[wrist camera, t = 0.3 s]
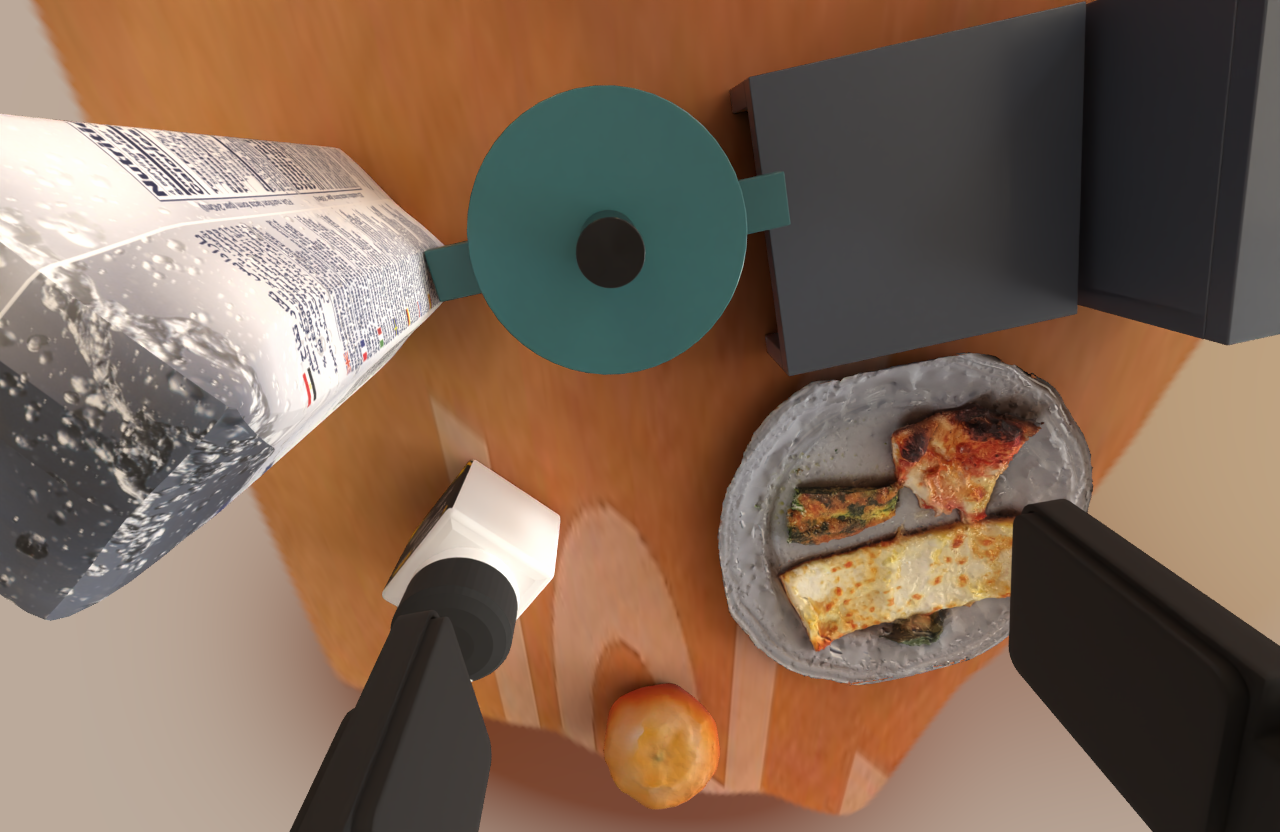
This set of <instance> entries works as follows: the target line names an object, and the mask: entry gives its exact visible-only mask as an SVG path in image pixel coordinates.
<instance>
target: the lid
mask: <svg viewBox="0 0 1280 832" xmlns="http://www.w3.org/2000/svg"><path fill="white" fill-rule="evenodd" d="M467 238H468V248H469V255H470V259H471V264H472V268H473V272H474V274H475V277H476V280H477V283H478V285H479V288H480V290H481V292H482V294H483V296H484V298H485V300H486V302H487V304H488V305H489V307H490V308H491V310H492V311H493V313H494V314H495V316H496V317H497V319H498V320H499V321H500V322H501V323H502V325H503V326H504V327H505V328H506V329H507V330H508V331H509V332H510V334H512V335H513V336H514V337H515V338H516V339H517V340H518V341H520V342H521V343H522V344H523V345H524V346H526V347H527V348H529V349H530V350H532V351H533V352H534V353H536V354H537V355H539V356H541V357H543V358H545V359H547V360H549V361H551V362H553V363H555V364H558V365H560V366H563V367H566V368H569V369H572V370H577V371H581V372H585V373H593V374H603V375H606V374H625V373H631V372H638V371H641V370H645V369H648V368H652V367H655V366H657V365H660V364H662V363H664V362H667V361H669V360H671V359H673V358H674V357H676V356H678V355H680V354H681V353H683V352H685V351H686V350H687V349H689V348H690V347H691V346H692V345H694V344H695V343H696V342H698V341H699V340H700V339H701V338H702V337H703V336H704V335H705V334H706V333H707V332H708V331H709V330H710V329H711V328H712V327H713V325H714V324H715V323H716V321H717V320H718V319H719V318H720V316H721V315H722V314H723V312H724V310H725V309H726V307H727V305H728V304H729V302H730V300H731V298H732V296H733V294H734V291H735V289H736V287H737V285H738V282H739V279H740V275H741V272H742V269H743V265H744V260H745V254H746V248H747V218H746V208H745V204H744V199H743V194H742V190H741V187H740V184H739V182H738V179H737V176H736V173H735V171H734V169H733V167H732V165H731V163H730V161H729V159H728V157H727V155H726V154H725V152H724V151H723V150H722V148H721V147H720V145H719V144H718V142H717V141H716V139H715V138H714V137H713V136H712V135H711V134H710V133H709V132H708V130H707V129H706V128H705V127H704V126H703V125H702V124H701V123H700V122H698V121H697V120H696V119H695V118H694V117H693V116H691V115H690V114H689V113H688V112H686V111H685V110H683V109H682V108H680V107H678V106H677V105H675V104H674V103H672V102H670V101H668V100H666V99H664V98H661V97H659V96H657V95H655V94H652V93H649V92H646V91H642V90H639V89H635V88H629V87H622V86H615V85H608V86H589V87H582V88H576V89H572V90H569V91H566V92H562V93H559V94H556V95H554V96H552V97H550V98H548V99H546V100H543V101H541V102H539V103H538V104H536V105H535V106H533V107H532V108H530V109H529V110H527V111H526V112H524V113H523V114H521V115H520V116H519V117H518V118H517V119H516V120H515V121H514V122H512V123H511V124H510V125H509V126H508V127H507V128H506V129H505V130H504V132H503V133H502V134H501V135H500V136H499V138H498V139H497V140H496V141H495V142H494V144H493V146H492V147H491V149H490V150H489V152H488V154H487V155H486V157H485V158H484V161H483V163H482V165H481V167H480V169H479V171H478V174H477V176H476V179H475V182H474V186H473V189H472V192H471V196H470V203H469V209H468V219H467Z"/></svg>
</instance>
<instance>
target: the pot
mask: <svg viewBox="0 0 1280 832" xmlns="http://www.w3.org/2000/svg"><path fill="white" fill-rule="evenodd" d="M738 182H739V184H740V187H741V190H742V194H743V199H744V204H745V208H746V218H747V234H752V233H756V232H761V231H765V230H770V229H774V228H779V227H783V226H788V225H790V216H789V207H788V199H787V191H786V183H785V175H784V172H783V171H777V172H773V173H768V174H764V175H759V176H755V177H750V178H746V179H741V180H738ZM424 254H425V257H426V261H427V264H428V267H429V270H430V273H431V276H432V279H433V283H434V286H435V289H436V292H437V295H438V298H439V301H440V302H444V301H449V300H453V299H458V298H462V297H467V296H471V295H476V294H480V293H482V292H481V290H480V288H479V285H478V283H477V280H476V277H475V274H474V272H473V268H472V264H471V259H470V255H469V248H468V241H463V242H459V243H454V244H450V245H445V246H441V247H436V248H432V249H429V250H426V251H425V252H424Z"/></svg>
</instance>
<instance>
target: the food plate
mask: <svg viewBox="0 0 1280 832" xmlns="http://www.w3.org/2000/svg"><path fill="white" fill-rule="evenodd" d="M957 354H959V353H957ZM960 354H964V355H960ZM960 354H959V356H946V357H942V358H937V359H934V360H927V361H922V362H914V363H908V364H905V365H897V366H891V367H890V368H887V369H882V370H878V371H870V372H866V373H858V374H855V375H853V376H849V377H845V378H843V380H841V381H838V380H837V381H836V379H835V380H832V381H831V382H829V383H827V381H830V380H827V381H816V382H811V383H809V384H808V385H806V386H804V388H802V389H800V391H797V392H795V393H794V394H793V395H792V396H791V397H788V400H785V401H783V403H782V404H780V405H778V406H777V409H775V410H774V411H772V412H771V413H770V415H769V416H767V417H766V419H765V420H764V421H763V422H762V424H761V425H760V427H759V428H758V429H757V430H756V431H755V432H754V433H753V436H752V441H750V442H749V443H750V444H748V446H747V448H746V450H745V452H744V453H743V457H744V458H743V459H742V462H741V464H740V467H739V468H737V471H736V474H735V475H734V478H733V479H732V481H731V484H729V487H727V493H726V494H725V499H724V502H723V509H722V513H721V516H720V518H721V520H720V521H721V522H720V526H719V527H720V528H719V529H718V533H719V537H718V539H719V543H718V544H719V546H718V549H719V558H720V566H721V568H722V569H721V570H722V576H723V582H724V587H725V594H726V598H727V599H728V600H727V604H728V606H729V607H728V609H729V613H730V614H731V617H733V619H734V620H735V621H736V623H737V624H738V625H740V627H742V630H744V631H745V633H746V634H749V636H750V638H751V641H753V642H754V643H755V644H754V645H756V646H757V648H759V649H761V650H762V651H764V653H766V655H767V656H768V657H770V658H772V659H773V660H774V661H776V662H777V663H778V664H780V665H783V666H784V667H785V668H786V669H789V670H791V671H794V672H797V673H799V674H802V675H804V677H805V676H809V677H810V678H814V677H815V678H818V679H822V678H823V679H827V680H832V681H836V682H840V683H853V682H859V681H860V682H862V681H863V682H864V683H859V684H853V685H865V684H873V683H878V682H883V681H889V680H894V679H899V678H904V677H907V676H913V675H915V674H920V673H924V672H927V671H931V670H935V669H939V668H943V667H946V665H947V666H949V665H953V664H950V663H951V662H954V664H956V663H960V662H959V661H960V660H961V659H963V660H964V659H965V658H966V660H965V661H967V660H970V659H972V658H974V657H976V656H977V655H979V654H982V653H984V652H985V651H987V650H989V649H990V648H992V647H994V646H995V645H997V644H998V643H1000V642H1001V641H1002V640H1003V639H1005V638H1006V637H1007V636H1008V635H1009V621H1010V592H1011V563H1012V534H1013V521H1014V519H1015V517H1016V516H1018V515H1021V513H1022V510H1023V508H1024V507H1025V506H1026V505H1028V504H1033V503H1039V502H1045V501H1050V500H1056V499H1066V500H1069V501H1071V502H1072V503H1073V504H1075V505H1076V506H1078V507H1079V508H1081V509H1082V510H1084V511H1085V512H1088V507H1089V503H1090V500H1091V496H1092V491H1093V484H1092V482H1093V480H1092V468H1093V467H1092V466H1091V454H1090V451H1089V448H1088V445H1087V443H1086V441H1085V437H1084V435H1083V433H1082V432H1081V430H1080V428H1079V427H1078V425H1077V423H1076V422H1075V421H1074V419H1073V418H1072V416H1071V414H1070V412H1069V410H1068V409H1067V408H1066V406H1065V404H1064V402H1063V400H1062V397H1061V396H1060V394H1059V393H1058V392H1057V391H1056V389H1055V388H1054V387H1053V386H1051V385H1050V384H1049V383H1048V382H1046V381H1044V380H1042V379H1041V378H1038V377H1037V376H1036V375H1035V376H1036V378H1037V379H1036V378H1034V379H1033V378H1031V374H1033V375H1034V373H1031V374H1028V373H1027V372H1025V371H1023V370H1022V369H1021V368H1019V367H1018V366H1016V365H1008V364H1005V363H1003V362H1001V360H1000V359H999V358H997V357H996V356H992V355H985V354H979V353H975V354H974V353H960ZM823 382H826V383H823ZM819 383H823V384H819ZM962 662H963V661H962ZM939 665H942V666H939ZM933 666H939V667H933ZM889 677H891V678H889ZM892 677H893V678H892ZM883 678H887V679H883ZM879 679H883V680H879ZM870 680H871V681H870ZM872 680H878V681H872ZM865 681H870V682H865ZM851 685H852V684H851Z"/></svg>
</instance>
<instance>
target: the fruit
mask: <svg viewBox="0 0 1280 832" xmlns="http://www.w3.org/2000/svg"><path fill="white" fill-rule="evenodd" d="M719 755H720V747H719V740H718V733H717V727H716V723H715V721H714V719H713V718H712V717H711V715H710V714H709V713H708V711H707V710H706V709H705V707H704V706H703V705H702V704H701V703H700V702H698V701H697V700H696V699H695V698H694V697H693V696H692V695H690V694H689V693H688V692H686V691H685V690H684V689H682V688H681V687H679V686H678V685H676V684H671V683H665V684H659V685H652V686H646V687H642V688H639V689H636V690H633V691H631V692H629V693H627V694H625V695H623V696H621V697H620V698H619V699H617V700H616V701H615V702H614V704H613V705H612V707H611V709H610V711H609V715H608V721H607V727H606V735H605V743H604V759H605V762H606V763H607V765H608V767H609V770H610V773H611V777H612V778H613V780H614V782H615V784H616V786H617V787H618V788H619V789H620V790H621V791H622V792H623V793H626V794H628V795H629V796H631V797H632V798H634V799H635V800H637V801H638V802H639V803H640V804H642V805H644V806H645V807H647V808H649V809H664V808H668V807H675V806H678V805H679V804H681V803H684V802H686V801H688V800H689V799H691V798H692V797H693V796H695V795H696V794H697V793H699V792H700V791H701V790H702V789H703V788H704V787H705V786H706V784H707V782H708V781H709V780H710V779H711V777H712V776H713V774H714V773H715V771H716V769H717V765H718V760H719Z"/></svg>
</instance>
